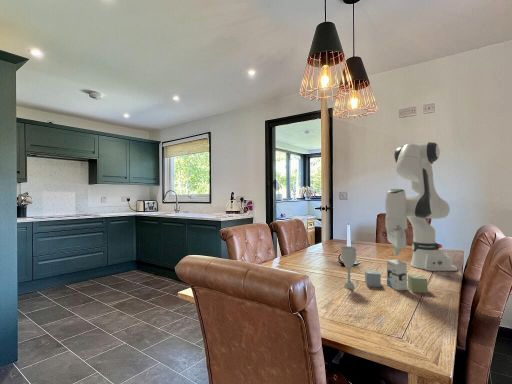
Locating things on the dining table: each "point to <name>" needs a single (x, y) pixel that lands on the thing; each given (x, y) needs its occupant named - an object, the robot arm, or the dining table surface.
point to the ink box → (397, 274)
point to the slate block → (372, 278)
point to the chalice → (348, 263)
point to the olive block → (417, 283)
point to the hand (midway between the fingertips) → (396, 254)
